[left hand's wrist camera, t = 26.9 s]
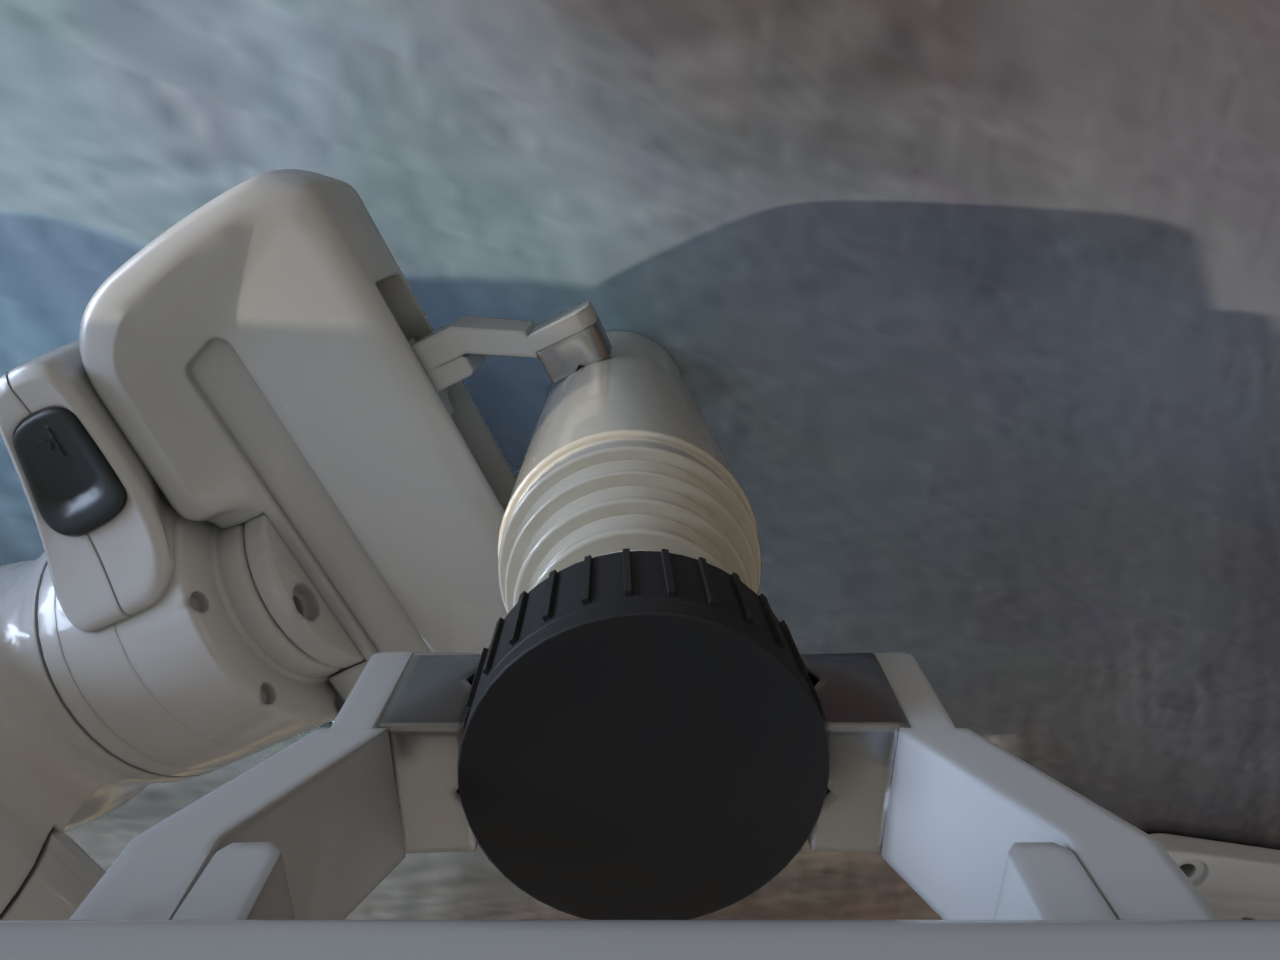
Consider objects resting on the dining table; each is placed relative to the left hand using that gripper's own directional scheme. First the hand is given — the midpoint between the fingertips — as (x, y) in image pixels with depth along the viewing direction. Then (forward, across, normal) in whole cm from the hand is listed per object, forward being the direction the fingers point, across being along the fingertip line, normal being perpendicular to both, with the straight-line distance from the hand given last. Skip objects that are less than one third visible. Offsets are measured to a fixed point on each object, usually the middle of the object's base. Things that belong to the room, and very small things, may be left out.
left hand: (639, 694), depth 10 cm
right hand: (+13, 0, 0) cm, 13 cm away
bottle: (+18, +1, +1) cm, 18 cm away
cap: (-2, 0, 0) cm, 2 cm away
